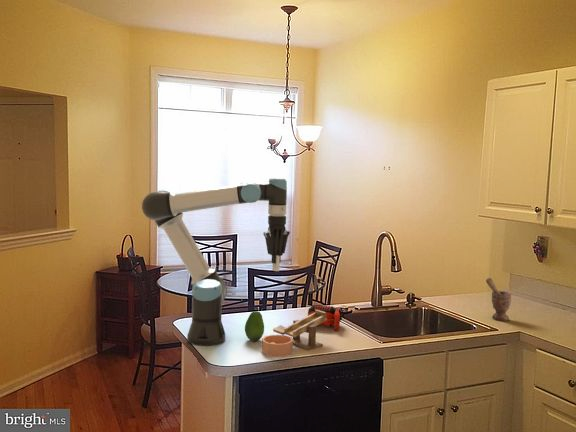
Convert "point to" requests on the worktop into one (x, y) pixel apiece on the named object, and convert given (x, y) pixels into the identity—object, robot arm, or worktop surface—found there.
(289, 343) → the terracotta bowl
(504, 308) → the mortar and pestle
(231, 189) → the robot arm
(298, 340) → the stand
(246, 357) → the worktop surface
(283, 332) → the lever
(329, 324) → the power drill
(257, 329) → the fruit
